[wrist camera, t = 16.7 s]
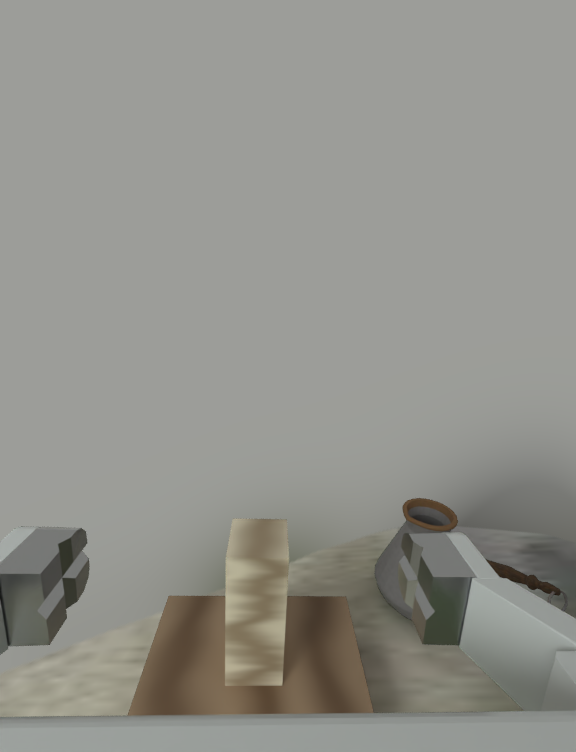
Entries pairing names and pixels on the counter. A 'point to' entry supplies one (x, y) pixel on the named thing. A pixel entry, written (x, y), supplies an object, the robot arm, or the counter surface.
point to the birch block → (256, 602)
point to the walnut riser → (211, 697)
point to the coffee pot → (435, 520)
